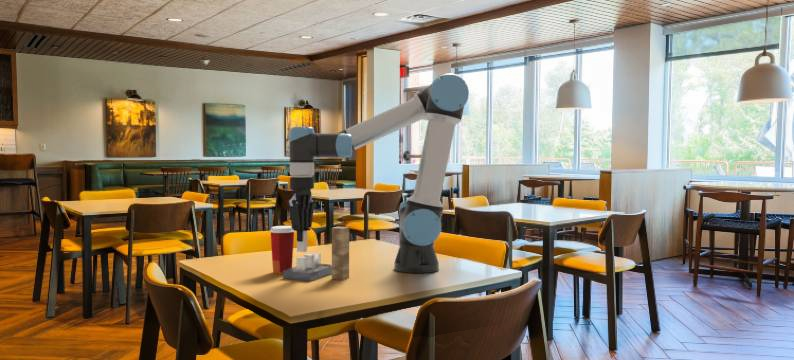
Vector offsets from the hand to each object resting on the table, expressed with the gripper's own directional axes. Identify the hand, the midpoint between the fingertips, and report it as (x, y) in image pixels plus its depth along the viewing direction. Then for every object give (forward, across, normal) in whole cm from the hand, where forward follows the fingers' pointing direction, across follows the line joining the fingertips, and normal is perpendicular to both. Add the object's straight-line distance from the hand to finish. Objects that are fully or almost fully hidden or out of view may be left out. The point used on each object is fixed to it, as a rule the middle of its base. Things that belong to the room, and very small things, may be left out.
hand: (302, 251), depth 184 cm
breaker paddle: (+6, -4, 0) cm, 7 cm away
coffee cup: (+9, -5, -11) cm, 15 cm away
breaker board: (+8, -4, 0) cm, 9 cm away
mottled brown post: (+8, -5, +11) cm, 15 cm away
